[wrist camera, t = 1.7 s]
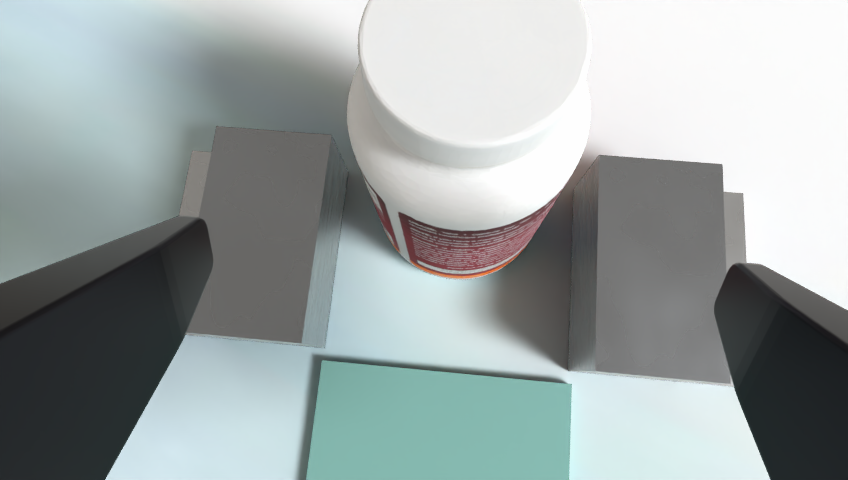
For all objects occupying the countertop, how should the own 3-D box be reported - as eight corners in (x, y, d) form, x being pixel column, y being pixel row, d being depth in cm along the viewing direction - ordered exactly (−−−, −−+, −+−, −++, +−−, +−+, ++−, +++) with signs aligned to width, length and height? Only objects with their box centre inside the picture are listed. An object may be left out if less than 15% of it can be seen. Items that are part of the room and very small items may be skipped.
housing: (736, 386, 19) (800, 390, 16) (168, 333, 20) (113, 325, 17) (729, 201, 21) (785, 168, 18) (203, 160, 22) (159, 122, 19)
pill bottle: (568, 190, 21) (698, 9, 11) (475, 315, 20) (515, 254, 10) (442, 104, 22) (445, -140, 12) (348, 219, 21) (255, 66, 11)
